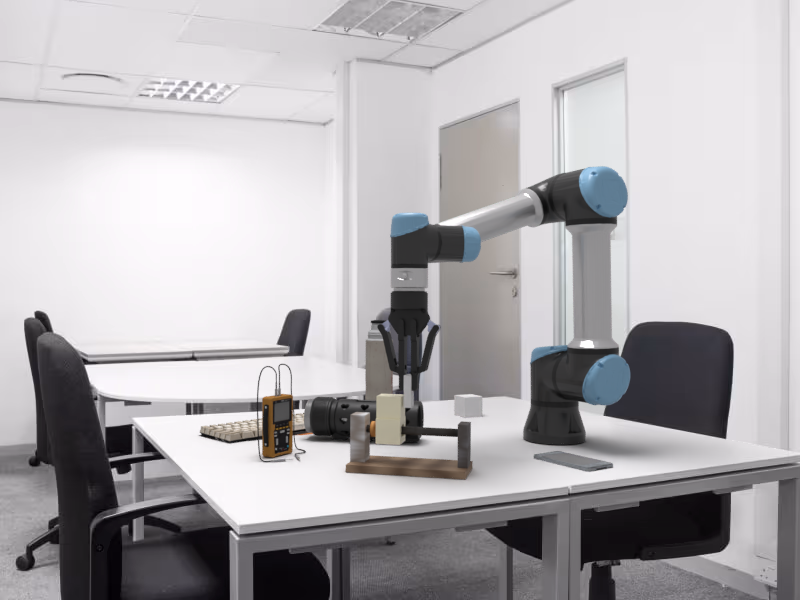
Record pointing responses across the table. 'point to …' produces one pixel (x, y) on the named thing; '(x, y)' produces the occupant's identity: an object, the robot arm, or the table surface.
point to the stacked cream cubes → (390, 419)
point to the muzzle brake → (335, 416)
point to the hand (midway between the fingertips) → (408, 406)
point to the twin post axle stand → (405, 465)
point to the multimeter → (277, 423)
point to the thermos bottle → (377, 365)
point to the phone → (573, 461)
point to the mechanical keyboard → (245, 430)
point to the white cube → (468, 405)
